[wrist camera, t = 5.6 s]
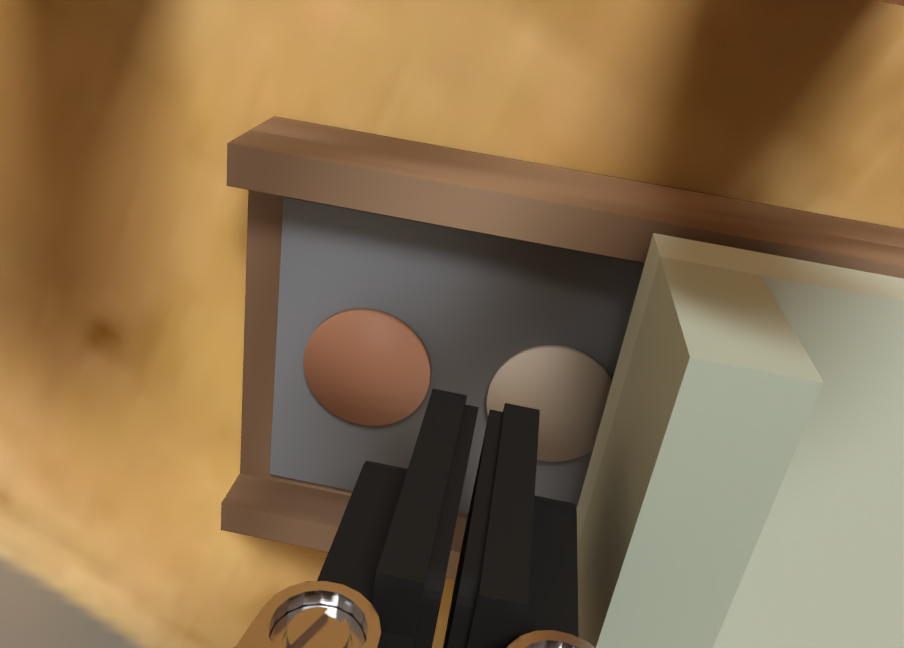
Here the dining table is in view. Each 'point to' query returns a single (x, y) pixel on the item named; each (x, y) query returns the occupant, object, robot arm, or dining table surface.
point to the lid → (749, 459)
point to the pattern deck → (449, 305)
